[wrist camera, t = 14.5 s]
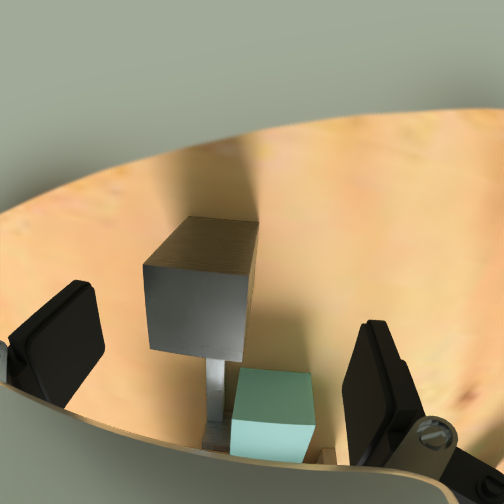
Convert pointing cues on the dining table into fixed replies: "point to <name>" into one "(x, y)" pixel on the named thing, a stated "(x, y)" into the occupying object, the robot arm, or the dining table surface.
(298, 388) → the block
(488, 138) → the dining table surface
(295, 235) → the dining table surface
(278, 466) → the robot arm
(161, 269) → the grey long piece
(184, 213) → the dining table surface
